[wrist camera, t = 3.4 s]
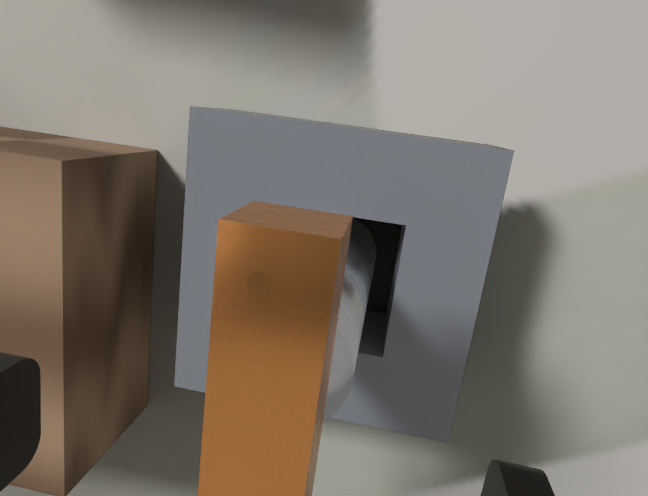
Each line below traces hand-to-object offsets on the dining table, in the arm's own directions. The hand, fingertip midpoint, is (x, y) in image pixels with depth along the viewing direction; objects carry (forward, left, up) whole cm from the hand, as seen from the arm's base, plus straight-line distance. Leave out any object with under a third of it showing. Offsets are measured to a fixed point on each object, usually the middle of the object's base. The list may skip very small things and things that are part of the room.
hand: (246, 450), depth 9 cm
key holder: (0, 0, -12) cm, 12 cm away
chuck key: (0, 0, -12) cm, 12 cm away
